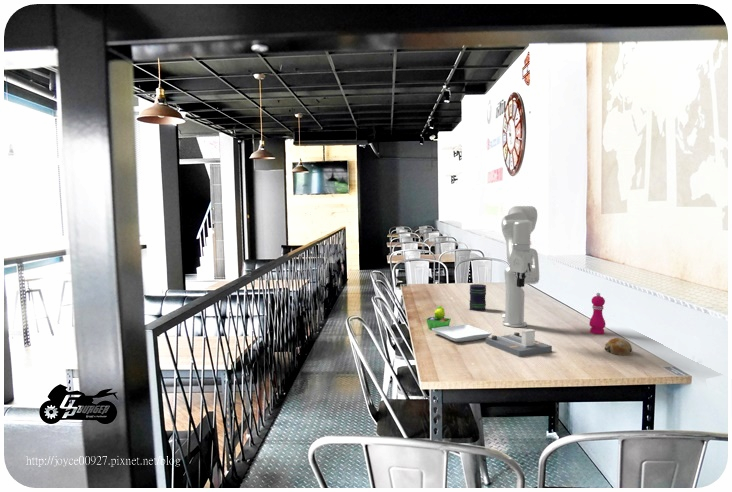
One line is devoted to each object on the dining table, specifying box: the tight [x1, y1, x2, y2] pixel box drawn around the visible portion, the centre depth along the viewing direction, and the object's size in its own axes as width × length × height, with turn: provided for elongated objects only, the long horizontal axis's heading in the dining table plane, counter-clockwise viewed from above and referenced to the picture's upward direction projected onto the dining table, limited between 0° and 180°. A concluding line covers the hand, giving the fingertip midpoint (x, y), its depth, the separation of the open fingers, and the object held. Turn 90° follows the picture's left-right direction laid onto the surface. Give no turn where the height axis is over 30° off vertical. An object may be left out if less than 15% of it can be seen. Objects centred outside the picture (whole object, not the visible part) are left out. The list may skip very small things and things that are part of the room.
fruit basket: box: [425, 305, 451, 330], centre depth 248 cm, size 11×9×11 cm
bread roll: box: [604, 337, 633, 356], centre depth 206 cm, size 10×10×8 cm
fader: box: [520, 328, 536, 346], centre depth 207 cm, size 3×5×7 cm, turn 114°
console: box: [485, 331, 553, 358], centre depth 213 cm, size 22×18×4 cm
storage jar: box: [469, 283, 487, 312], centre depth 296 cm, size 10×10×15 cm
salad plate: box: [431, 324, 492, 343], centre depth 232 cm, size 21×21×3 cm
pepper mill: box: [588, 292, 606, 335], centre depth 239 cm, size 7×7×20 cm
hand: (520, 286), depth 225 cm, fingers closed
